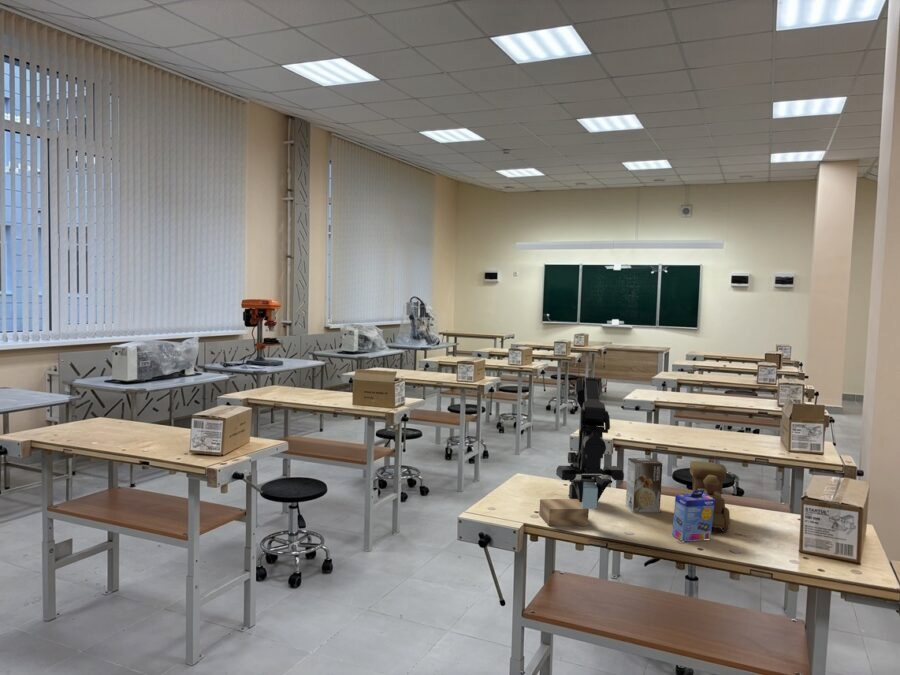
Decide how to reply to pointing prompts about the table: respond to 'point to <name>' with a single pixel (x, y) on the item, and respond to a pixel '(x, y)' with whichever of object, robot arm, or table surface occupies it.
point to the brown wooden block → (563, 512)
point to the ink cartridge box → (693, 516)
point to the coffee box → (644, 485)
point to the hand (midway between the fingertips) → (588, 501)
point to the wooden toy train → (712, 488)
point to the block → (589, 495)
